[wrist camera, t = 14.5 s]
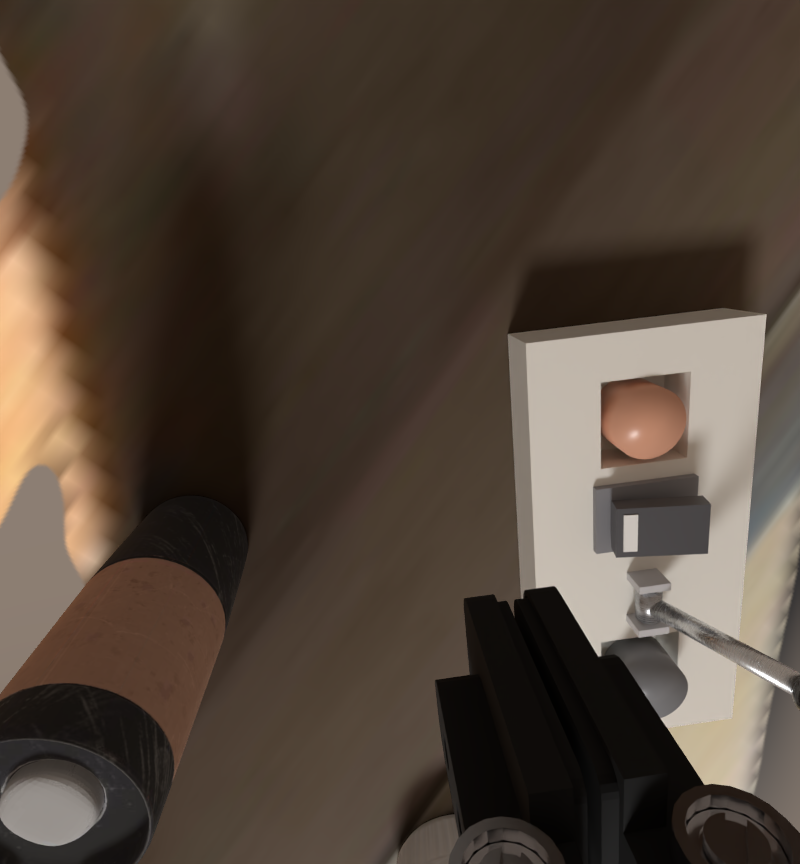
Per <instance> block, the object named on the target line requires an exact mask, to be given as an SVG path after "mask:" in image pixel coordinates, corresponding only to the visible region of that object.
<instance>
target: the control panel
mask: <svg viewBox="0 0 800 864" xmlns="http://www.w3.org/2000/svg"><path fill="white" fill-rule="evenodd" d="M766 315H767V314H761V313H755V312H748V311H741V310H734V309H728V308H719V309H710V310H702V311H694V312H686V313H677V314H669V315H661V316H652V317H644V318H636V319H628V320H619V321H611V322H603V323H594V324H586V325H578V326H569V327H561V328H553V329H545V330H536V331H528V332H520V333H511V334H508V349H509V369H510V389H511V408H512V428H513V448H514V467H515V487H516V507H517V526H518V546H519V566H520V585H521V599H523V594H524V591H525V590H528V589H536V588H543V587H550V586H555V587H556V588H557V589H558V591H559V592H560V594H561V596H562V597H563V599H564V601H565V602H566V604H567V606H568V607H569V609H570V611H571V612H572V614H573V616H574V617H575V619H576V621H577V622H578V624H579V626H580V627H581V629H582V630H583V632H584V634H585V635H586V637H587V639H588V640H589V642H590V644H591V645H592V647H593V649H594V650H595V652H596V654H597V655H598V657H599V656H604V655H605V652H606V651H607V649H608V648H609V647H610V646H611V644H613V643H614V642H615V641H616V640H621V639H628V638H635V637H638V638H641V637H648V636H652V637H654V638H655V639H656V640H657V641H658V642H659V643H660V644H661V646H662V647H663V648H664V649H665V651H666V652H667V653H668V655H669V656H670V657H671V658H672V660H673V661H674V662H675V664H676V665H677V666H678V667H679V669H680V670H681V671H682V672H683V674H684V675H685V677H686V679H687V682H688V692H687V695H686V697H685V699H684V701H683V703H682V704H681V705H680V706H679V707H678V708H677V709H676V710H675V711H674V712H672V713H671V714H669V715H667V716H665V717H662V718H661V720H662V721H663V723H664V724H665V726H666V727H667V728H671V727H677V726H684V725H691V724H697V723H704V722H711V721H717V720H724V719H731V718H732V715H733V704H734V692H735V680H736V668H737V664H736V663H734V662H732V661H730V660H729V659H727V658H725V657H723V656H722V655H720V654H718V653H716V652H715V651H713V650H711V649H709V648H707V647H706V646H704V645H702V644H700V643H699V642H697V641H695V640H693V639H691V638H690V637H688V636H686V635H684V634H683V633H681V632H679V631H677V630H676V629H674V628H672V627H670V626H668V625H667V624H665V623H663V622H660V623H658V624H653V625H650V624H644V623H642V622H640V621H638V620H637V619H636V617H635V590H636V591H637V592H638V593H639V594H648V593H655V592H662V591H663V598H662V600H663V601H665V602H667V603H669V604H670V605H672V606H674V607H676V608H678V609H680V610H682V611H684V612H686V613H687V614H689V615H691V616H693V617H695V618H697V619H699V620H701V621H703V622H705V623H706V624H708V625H710V626H712V627H714V628H716V629H718V630H720V631H722V632H723V633H725V634H727V635H729V636H731V637H733V638H735V639H737V640H739V633H740V621H741V609H742V598H743V586H744V574H745V562H746V551H747V539H748V527H749V515H750V503H751V492H752V480H753V468H754V456H755V444H756V433H757V421H758V409H759V397H760V386H761V374H762V362H763V350H764V338H765V327H766ZM634 378H642V379H645V380H647V381H649V382H652V383H654V384H656V385H658V386H661V387H663V388H665V389H668V390H670V391H672V392H673V393H675V394H676V395H677V396H678V397H679V398H680V399H681V401H682V402H683V404H684V407H685V410H686V426H685V429H684V432H683V434H682V436H681V438H680V440H679V441H678V442H677V444H676V445H675V446H674V447H673V448H672V449H671V450H669V451H668V452H666V453H665V454H663V455H661V456H659V457H656V458H652V459H637V458H633V457H631V456H629V455H627V454H625V453H624V452H623V451H621V450H620V449H619V448H617V447H616V446H615V445H613V444H612V443H611V442H609V441H608V440H607V439H605V438H604V437H602V436H601V389H602V388H603V387H604V386H605V385H607V384H608V383H609V382H611V381H618V380H626V379H634ZM702 495H703V496H704V497H705V498H706V499H707V500H708V502H709V503H710V504H711V514H710V530H709V546H708V554H691V555H668V556H645V557H622V558H616V556H615V554H614V552H613V550H612V548H611V500H629V499H647V498H666V497H684V496H702Z"/></svg>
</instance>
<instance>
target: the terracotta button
mask: <svg viewBox="0 0 800 864" xmlns="http://www.w3.org/2000/svg"><path fill="white" fill-rule="evenodd" d="M685 426H686V410H685V407H684V404H683V402H682V401H681V399H680V398H679V397H678V396H677V395H676V394H675V393H673V392H672V391H670V390H668V389H665V388H663V387H661V386H658V385H656V384H654V383H652V382H649V381H647V380H645V379H642V378H634V379H626V380H618V381H611V382H609V383H608V384H607V385H605V386H604V387H603V388H602V389H601V436H602V437H604V438H605V439H607V440H608V441H609V442H611V443H612V444H613V445H615V446H616V447H617V448H619V449H620V450H621V451H623V452H624V453H625V454H627V455H629V456H631V457H633V458H637V459H652V458H656V457H659V456H661V455H663V454H665V453H666V452H668V451H669V450H671V449H672V448H673V447H674V446H675V445H676V444H677V442H678V441H679V440H680V438H681V436H682V434H683V432H684V429H685Z"/></svg>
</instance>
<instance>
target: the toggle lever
mask: <svg viewBox="0 0 800 864" xmlns="http://www.w3.org/2000/svg"><path fill="white" fill-rule="evenodd" d="M662 598H663V591H662V592H655V593H648V594H639V593H638V592H637V591H636V590H635V617H636V619H637V620H638V621H640V622H642V623H644V624H650V625H653V624H658V623H660V622H663V623H665V624H667V625H668V626H670V627H672V628H674V629H676V630H677V631H679V632H681V633H683V634H684V635H686V636H688V637H690V638H691V639H693V640H695V641H697V642H699V643H700V644H702V645H704V646H706V647H707V648H709V649H711V650H713V651H715V652H716V653H718V654H720V655H722V656H723V657H725V658H727V659H729V660H730V661H732V662H734V663H736V664H738V665H739V666H741V667H743V668H745V669H746V670H748V671H750V672H752V673H754V674H755V675H757V676H759V677H761V678H762V679H764V680H766V681H768V682H769V683H771V684H773V685H775V686H777V687H778V688H780V689H782V690H784V691H785V692H787V693H789V694H791V695H792V697H793V700H794V703H795V705H796V706H797V708H798V709H799V710H800V673H799V672H797V671H795V670H794V669H792V668H790V667H788V666H786V665H784V664H782V663H780V662H778V661H776V660H775V659H773V658H771V657H769V656H767V655H765V654H763V653H761V652H759V651H758V650H756V649H754V648H752V647H750V646H748V645H746V644H744V643H742V642H740V641H739V640H737V639H735V638H733V637H731V636H729V635H727V634H725V633H723V632H722V631H720V630H718V629H716V628H714V627H712V626H710V625H708V624H706V623H705V622H703V621H701V620H699V619H697V618H695V617H693V616H691V615H689V614H687V613H686V612H684V611H682V610H680V609H678V608H676V607H674V606H672V605H670V604H669V603H667V602H665V601H663V600H662Z"/></svg>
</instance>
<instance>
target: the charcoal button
mask: <svg viewBox="0 0 800 864" xmlns="http://www.w3.org/2000/svg"><path fill="white" fill-rule="evenodd" d="M613 654H615V655H617V656H619V657H620V659H621V660H622V661H623V662H624V664H625V665H626V667H627V668H628V670H629V671H630V673H631V674H632V676H633V677H634V679H635V680H636V682H637V683H638V685H639V686H640V688H641V689H642V691H643V692H644V694H645V695H646V697H647V699H648V700H649V702H650V703H651V705H652V706H653V708H654V709H655V711H656V712H657V714H658V715H659V717H660V718H662V717H665V716H667V715H669V714H671V713H672V712H674V711H675V710H676V709H677V708H678V707H679V706H680V705H681V704H682V703H683V701H684V699H685V697H686V695H687V692H688V682H687V679H686V677H685V675H684V674H683V672H682V671H681V670H680V669H679V667H678V666H677V665H676V664H675V662H674V661H673V660H672V658H671V657H670V656H669V655H668V653H667V652H666V651H665V649H664V648H663V647H662V646H661V644H660V643H659V642H658V641H657V640H656V639H655V638H654V637H652V636H648V637H641V638H638V637H635V638H628V639H621V640H616V641H615V642H614V643H613V644H611V646H610V647H609V648H608V649H607V651H606V652H605V655H604V656H606V655H613Z"/></svg>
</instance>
